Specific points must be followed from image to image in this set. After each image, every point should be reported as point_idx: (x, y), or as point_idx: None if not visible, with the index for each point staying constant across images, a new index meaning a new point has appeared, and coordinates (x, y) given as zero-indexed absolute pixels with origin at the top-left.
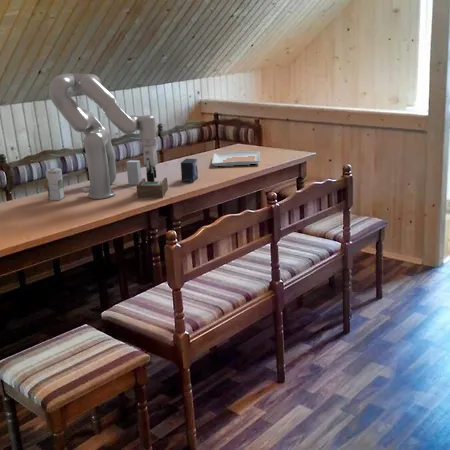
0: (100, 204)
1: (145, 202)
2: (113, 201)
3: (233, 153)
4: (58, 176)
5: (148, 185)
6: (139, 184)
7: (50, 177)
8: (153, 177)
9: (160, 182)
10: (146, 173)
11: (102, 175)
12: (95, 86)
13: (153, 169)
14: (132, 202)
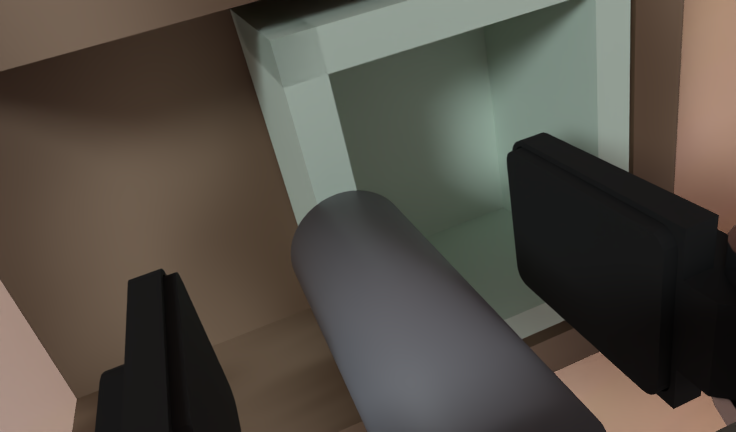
0: (698, 427)
1: (716, 32)
2: (627, 394)
3: None
4: None
5: (622, 159)
6: (546, 353)
7: None
8: (603, 160)
9: (333, 17)
10: (698, 389)
11: None
12: None
13: (491, 408)
14: (688, 195)
